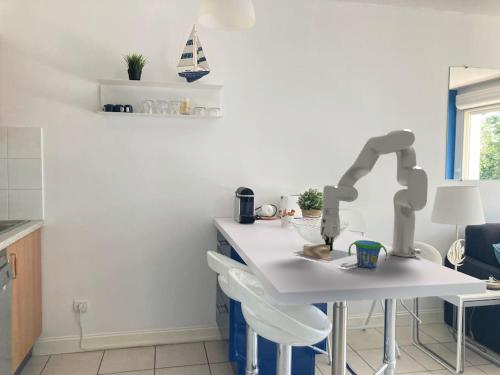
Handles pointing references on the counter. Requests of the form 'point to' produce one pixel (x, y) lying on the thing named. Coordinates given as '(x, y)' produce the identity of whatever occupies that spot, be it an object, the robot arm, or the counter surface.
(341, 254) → the board
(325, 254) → the t block
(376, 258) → the snack cup
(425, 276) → the counter surface
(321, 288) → the counter surface
